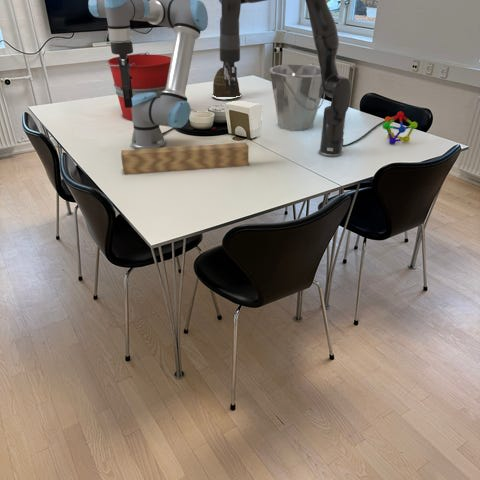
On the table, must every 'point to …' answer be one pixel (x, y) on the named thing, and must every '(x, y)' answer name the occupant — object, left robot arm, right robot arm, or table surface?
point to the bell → (223, 85)
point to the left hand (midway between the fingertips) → (129, 102)
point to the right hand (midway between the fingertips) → (230, 92)
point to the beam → (184, 158)
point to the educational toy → (398, 128)
